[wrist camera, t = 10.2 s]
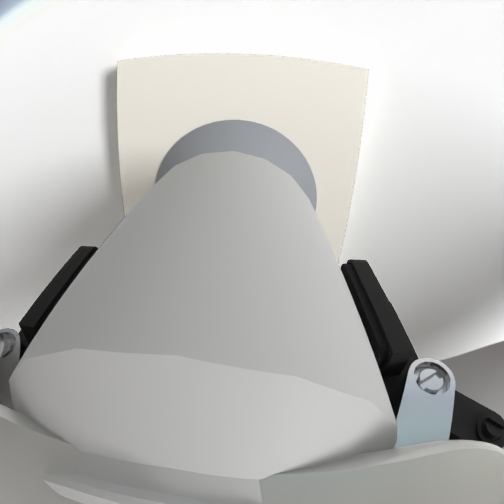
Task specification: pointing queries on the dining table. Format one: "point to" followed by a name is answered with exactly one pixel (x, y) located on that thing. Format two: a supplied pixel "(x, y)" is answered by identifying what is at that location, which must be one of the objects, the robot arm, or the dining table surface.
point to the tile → (244, 122)
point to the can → (205, 346)
